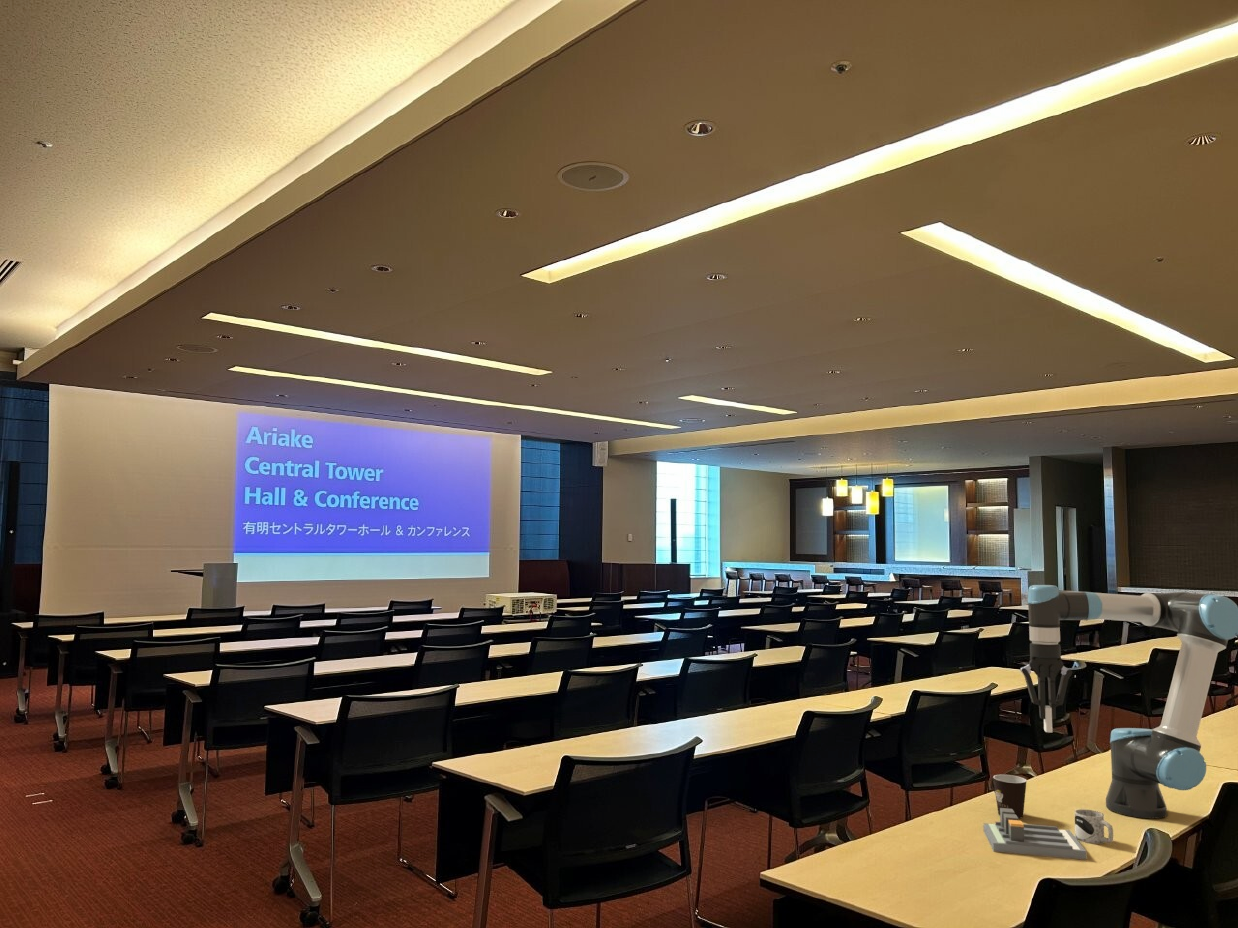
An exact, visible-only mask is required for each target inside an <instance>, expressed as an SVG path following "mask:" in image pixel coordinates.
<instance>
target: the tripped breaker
mask: <svg viewBox="0 0 1238 928" xmlns="http://www.w3.org/2000/svg"><path fill="white" fill-rule="evenodd" d="M1024 824H1025V823H1023V822H1022V820H1019V819H1018V820H1008V825H1009V840H1010V841H1020V842H1024Z"/></svg>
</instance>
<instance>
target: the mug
mask: <svg viewBox="0 0 1238 928" xmlns="http://www.w3.org/2000/svg"><path fill="white" fill-rule="evenodd" d="M1105 827H1106V828H1107V830H1108V831H1107V832H1108V836H1107V837H1106V836H1105ZM1074 836H1075V838H1076V839H1077V840H1078V841H1079V842H1081V843H1085V844H1092V845H1101V844H1104V843H1107V844H1111V843H1113V841H1114V829H1113V825H1112V824H1110V823H1109V822H1107V821H1106V820H1105V819H1104V814H1103V813H1102V812H1100V811H1097V810H1093V809H1084V808H1081V809H1075V810H1074Z"/></svg>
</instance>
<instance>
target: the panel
mask: <svg viewBox="0 0 1238 928" xmlns="http://www.w3.org/2000/svg"><path fill="white" fill-rule="evenodd" d="M982 824H983V826H982V827H983V833H984V835H985V837H986V840H987V842H988V843H989V845H990V847H991V849H992V851H993V852H994V853H995V852H996V853H1007V854H1008V853H1009V854H1017V855H1031V856H1039V857H1040V856H1041V857H1054V858H1060V859H1061V858H1062V859H1075V860H1083V861H1084V860H1085V861H1087V857H1088V856H1087V850H1086V849H1085V848H1084V846H1083V845H1082V844H1081V842H1080V841H1079V840H1077V839H1076V838H1075V834H1073V832H1072V831H1071V830H1070V829H1059V828H1058V826H1053V825H1041V824H1040V825H1039V824H1030V823H1023V824H1024V842H1020V841H1010V840H1009V834H1005V833H1004V828H1001V826H1000V821H995V823H986V822H983V823H982Z"/></svg>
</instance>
